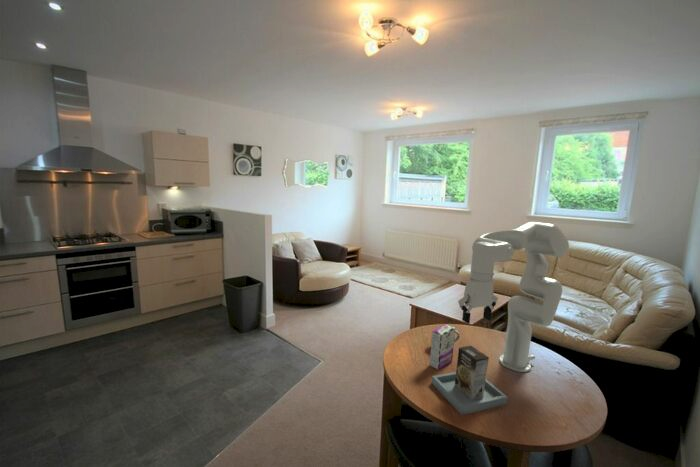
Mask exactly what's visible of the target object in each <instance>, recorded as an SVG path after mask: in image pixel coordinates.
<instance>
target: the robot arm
mask: <svg viewBox="0 0 700 467" xmlns="http://www.w3.org/2000/svg"><path fill="white" fill-rule="evenodd" d="M471 249H472V255H471V264H470V274H469V275H470V276H469V278H467V281H466V283H465V287H464V292H463V297H461V298H460V299H459V300H458V305H459V308H460V309H461V311H462V318H461V319H462V322H464V323H466V324H470V323H471V322H470V321H471V313H470V312H471V311H472V309H473V308H474V309H475V308H483V314H482V315H483V316H482V317H483V318H484V319H486V320H487V321H491V320H492V313H493V310H494V309H495V308H494V307H495V306H496V305H497V303H498V302H497V301H498V300H499V297H498V296H496V295H495V294H494V280H493V278H494V277H493V276H495V272H494V270H495V263H505V262H508V261H510V260H511V259H512V258H513V256H514V252H515V251H520V250H523V249H524V251H525V255H526V264H525V267H524V270H523V273H522V276H521V279H520V281H519V285H518V288H519V291H520V292H521V293H523V294H524V295H528V296H531V297H534V298H537V299H540V300H543V301H539V300H536V299H533V298H530V297H526V296H523V295H513V296H511V297H510V298H509V299H508V303H507V311H508V312H507V314H508V315H507V317H508V320H507V321H508V322H507V327H506V335H505V336H506V337H505V343H504V351H503V354H502V355H500V356H499V359H498V361H499V363H500V364H501V365H503V367H504V368H506V369H507V370H511V371H513V372H517V373H527V372H529V371H531V367H532V366H531V364H530V361H533V360H535V359H536V357H535V355H533V354H530V347H531V340H532V334H533V328H532V325H531V323H532V324H533V325H537V326H540V327H544V328H545V327H550V326H551V324H552V323H553V321H554V318H555V316H556V314H557V313H556V312H557V310H558V307H559V304H560V301H561V299H562V298H561V297H562V294H563V285H562V283H561V282H560V281H559V280H557V279H555V278H551V277H547V274H548V271H549V267H550V265H549V263H548V261H547V258H546V257H545V255H546V256H550V257H555V258H561V257H564V256H566V255H567V254H568V251H569V249H570V242H569V241H568V238H567V237H566V235H565V234H564V233H563V231H562V230H561V229H560V227H558V226H557V225H556V224H553V223H546V222H545V223H544V222H539V221H538V222H537V221H527V222H524V223H522V224H520V225H518V226H516V227H514V228H512V229H505V230H500V231H498V230H497V231H492V232H488V233H485V234H482V235H481V236H479V237H477V238H476V239H475V240H474V241H473V244H472V247H471ZM529 354H530V355H529Z"/></svg>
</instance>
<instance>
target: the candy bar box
mask: <svg viewBox="0 0 700 467" xmlns="http://www.w3.org/2000/svg"><path fill="white" fill-rule="evenodd" d="M455 330H456V327H455V326H451V325H449V324H447V323H445V324H444V325H441V326H439V327H437V328H435V329H433V330H432V331H431V343H430V344H431V345H430V354H429V355H430V356H429V366H430V367H431V368H433V369H435V370H437V371H439V370H441V369H443V368H444V367H446V366H447V365H449V364H451V363H452V362H453V358H454V357H453V356H454V345H455V343H454V339H455V335H456V333H455Z"/></svg>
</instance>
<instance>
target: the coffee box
mask: <svg viewBox="0 0 700 467" xmlns="http://www.w3.org/2000/svg"><path fill="white" fill-rule="evenodd" d="M489 359H490V357H488V356H487V355H486V354H485V353H483V352H481V351H480V350H478V349H477V348H476V347H474V346H472V345H467V346H466V345H465V346H461V347H458V353H457V360H456V371H455V372H456V378H455V386H456V387H457V388H458V389H459V390H460V391H461V392H462V393H464V394H465V395H466V396H467V397H468V398H469V399H470V400H473V399H477V398H481V397H483V394H484V387H485V380H487V372H488V365H489Z"/></svg>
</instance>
